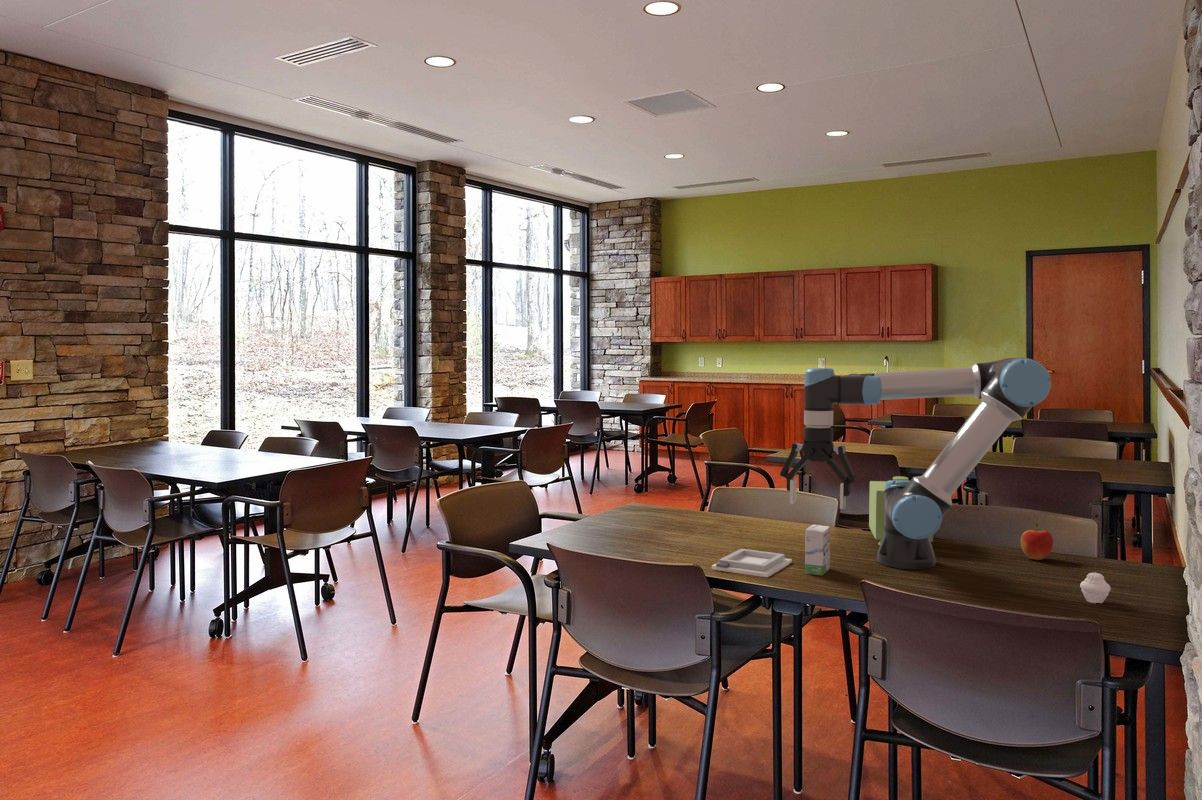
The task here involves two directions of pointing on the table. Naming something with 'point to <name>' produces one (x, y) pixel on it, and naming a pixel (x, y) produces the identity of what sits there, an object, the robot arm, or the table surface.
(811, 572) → the ink box
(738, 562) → the white square tray
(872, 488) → the container
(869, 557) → the table surface
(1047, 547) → the apple
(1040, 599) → the table surface
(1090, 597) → the muffin
